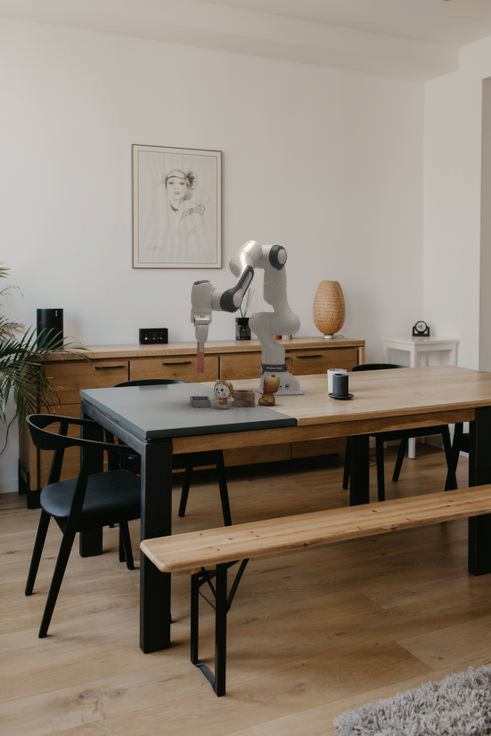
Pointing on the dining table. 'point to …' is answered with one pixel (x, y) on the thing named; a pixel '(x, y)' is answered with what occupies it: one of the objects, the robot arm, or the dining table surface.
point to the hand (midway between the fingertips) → (200, 351)
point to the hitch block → (243, 398)
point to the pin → (200, 360)
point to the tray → (199, 401)
